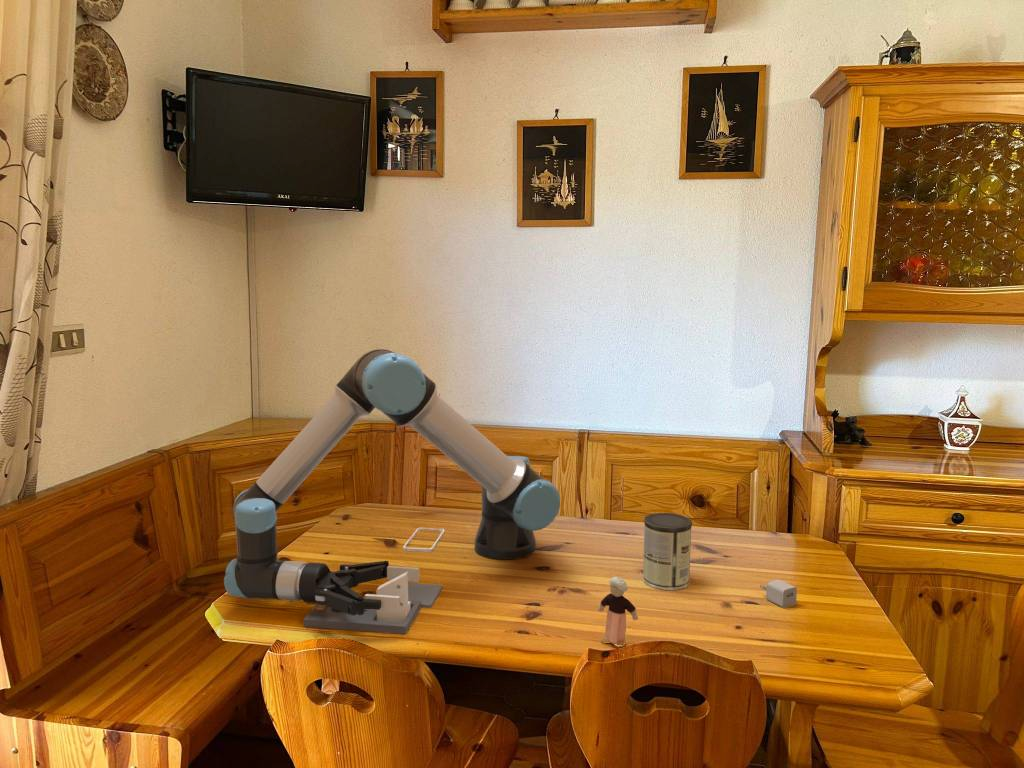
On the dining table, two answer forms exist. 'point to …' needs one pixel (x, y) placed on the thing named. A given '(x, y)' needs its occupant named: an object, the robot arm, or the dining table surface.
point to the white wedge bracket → (395, 588)
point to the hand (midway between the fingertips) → (409, 588)
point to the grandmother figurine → (617, 612)
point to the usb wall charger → (780, 593)
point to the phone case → (423, 548)
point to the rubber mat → (424, 593)
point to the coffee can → (667, 551)
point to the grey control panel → (358, 620)
